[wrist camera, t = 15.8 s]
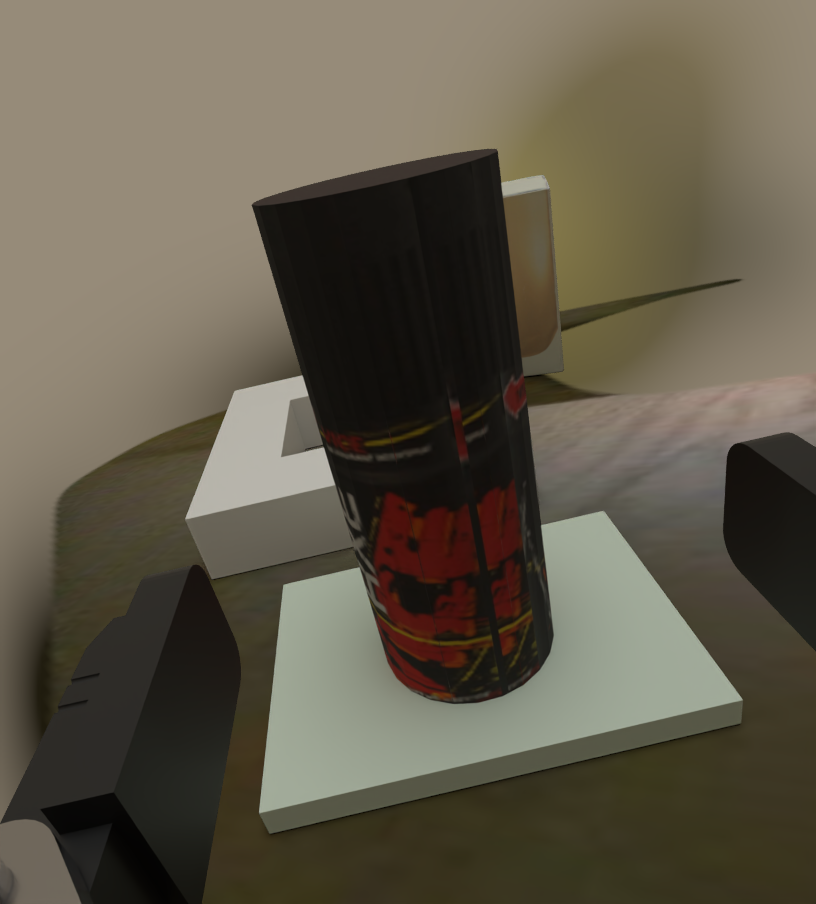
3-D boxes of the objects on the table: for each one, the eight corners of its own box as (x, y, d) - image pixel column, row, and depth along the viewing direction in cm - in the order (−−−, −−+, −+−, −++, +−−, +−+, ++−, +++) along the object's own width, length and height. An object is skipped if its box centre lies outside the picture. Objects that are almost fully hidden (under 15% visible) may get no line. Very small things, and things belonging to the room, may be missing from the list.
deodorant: (351, 652, 22) (205, 213, 15) (456, 559, 25) (376, 166, 18) (483, 738, 18) (368, 192, 11) (587, 613, 21) (549, 137, 14)
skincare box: (502, 350, 49) (481, 185, 43) (558, 342, 48) (544, 173, 42) (502, 382, 43) (477, 198, 37) (565, 374, 42) (550, 183, 36)
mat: (604, 529, 27) (603, 511, 26) (740, 723, 18) (743, 700, 17) (290, 602, 27) (283, 584, 26) (269, 834, 18) (259, 813, 17)
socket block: (471, 385, 44) (463, 338, 42) (539, 503, 29) (531, 439, 28) (250, 436, 43) (234, 390, 42) (211, 579, 29) (185, 519, 28)
